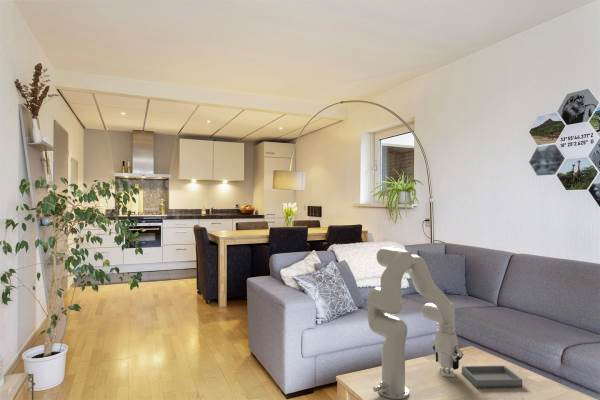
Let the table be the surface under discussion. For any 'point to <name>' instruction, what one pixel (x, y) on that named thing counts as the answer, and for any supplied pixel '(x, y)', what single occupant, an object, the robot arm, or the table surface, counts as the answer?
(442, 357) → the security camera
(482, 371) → the parts tray
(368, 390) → the table surface
